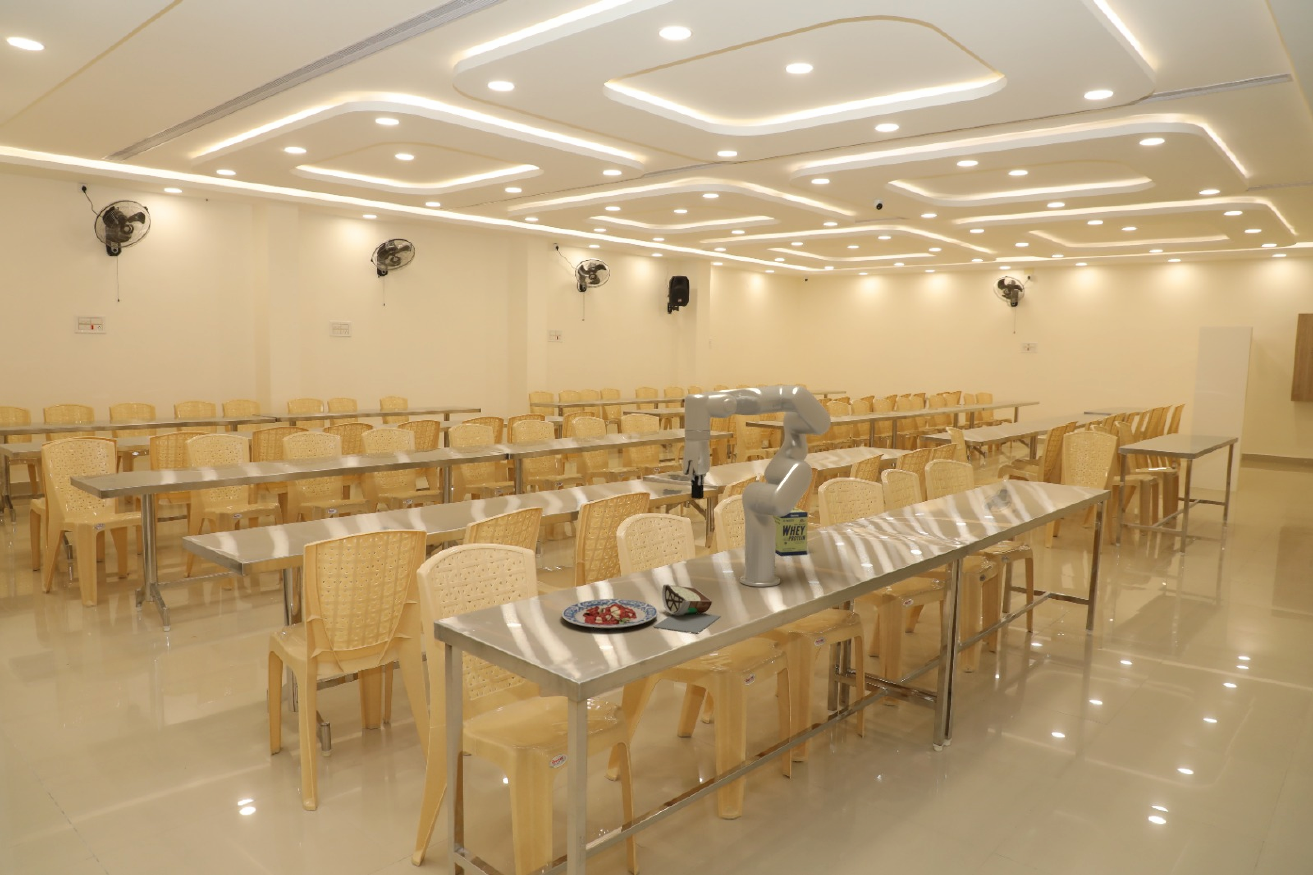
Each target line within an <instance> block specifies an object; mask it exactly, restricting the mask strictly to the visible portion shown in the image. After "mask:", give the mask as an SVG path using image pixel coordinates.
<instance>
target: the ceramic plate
mask: <svg viewBox="0 0 1313 875" xmlns="http://www.w3.org/2000/svg"><path fill="white" fill-rule="evenodd" d="M658 612H659V611H658V609H657V608H656V607H655V606H654V605H651V604H649V603H646V602H644V601H639V600H634V599H628V598H627V599H625V598H600V599H591V600H585V601H581V602H577V603H574V604H571V605H569V606H567V607H566V608H564V609H563V610H562V612H561V617H562V618H563V619H564V620H566V621H567V622H568V623H570V624H573V625H578V626H582V627H587V628H593V627H594V628H593V629H607V630H609V629H613V630H614V629H624V628H627V627H632V626H637V625H642V624H644V623H647V622H650V621H652V620H654V619H655V618H656V617H657V616H658Z"/></svg>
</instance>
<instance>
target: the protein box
mask: <svg viewBox="0 0 1313 875" xmlns="http://www.w3.org/2000/svg"><path fill="white" fill-rule="evenodd" d="M773 518H774V521H775V526H776V538H775V555H778V556H780V557H784V556H785V557H788V556H806V555H808V512H807V511H805V510H803V509H799V507H796V506H795V507H794V508H793V509H792V511H791V512H790V513H789V514H787V515H785V516H781V517H779V516H773Z"/></svg>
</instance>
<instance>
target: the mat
mask: <svg viewBox="0 0 1313 875" xmlns="http://www.w3.org/2000/svg"><path fill="white" fill-rule="evenodd" d="M720 618H721V616H720V615H715V614H707V613H684V614H683V615H681V616H676V615H673V614H670V615H669V616H668V617H666V618H664V619H663V620H661V621H660V622H658V623H656V624H654V626H653V627H654V629H659V628H661V629H662V630H666V629H668V631H673V630H674V631H675V632H681V633H687V632H691V633H690V634H694V633H698V632H700V633H701V632H703V631H704V630H705V629H706V628H708V627H709V626H710V624H711V623H712V624H713V623H715V622H716V621H718V620H719V619H720ZM712 624H711V625H712ZM703 629H704V630H703ZM698 634H699V633H698Z"/></svg>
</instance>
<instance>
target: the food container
mask: <svg viewBox="0 0 1313 875" xmlns="http://www.w3.org/2000/svg"><path fill="white" fill-rule="evenodd" d="M661 593H662V594H661V595H662V597H661V598H662V603H663V606H664V608H665V610H666V611H667V612H668V613H669V614H670V615H672V614H673V615H676V616H681V615H683V614H684V613H701V614H705V613H706V612H707V611H709V609H710V608H711V607H712V604H713V600H711V599H710V597H707V596H706V595H705V594H704V593H702V592H701V591H700V590H698V588H696V587H690V586H689V587H688V586H678V585H671V584H663V585H662V592H661Z"/></svg>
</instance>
